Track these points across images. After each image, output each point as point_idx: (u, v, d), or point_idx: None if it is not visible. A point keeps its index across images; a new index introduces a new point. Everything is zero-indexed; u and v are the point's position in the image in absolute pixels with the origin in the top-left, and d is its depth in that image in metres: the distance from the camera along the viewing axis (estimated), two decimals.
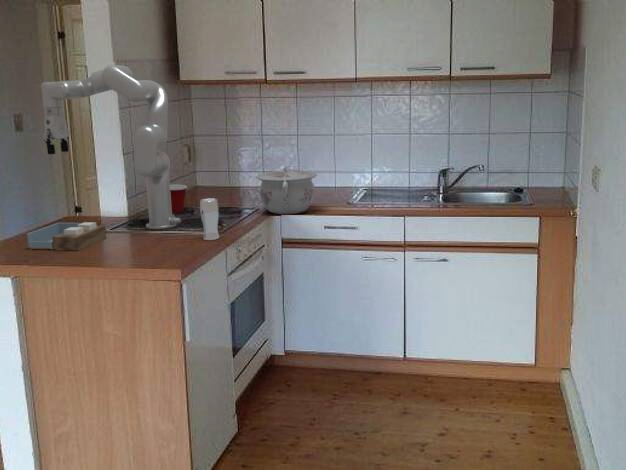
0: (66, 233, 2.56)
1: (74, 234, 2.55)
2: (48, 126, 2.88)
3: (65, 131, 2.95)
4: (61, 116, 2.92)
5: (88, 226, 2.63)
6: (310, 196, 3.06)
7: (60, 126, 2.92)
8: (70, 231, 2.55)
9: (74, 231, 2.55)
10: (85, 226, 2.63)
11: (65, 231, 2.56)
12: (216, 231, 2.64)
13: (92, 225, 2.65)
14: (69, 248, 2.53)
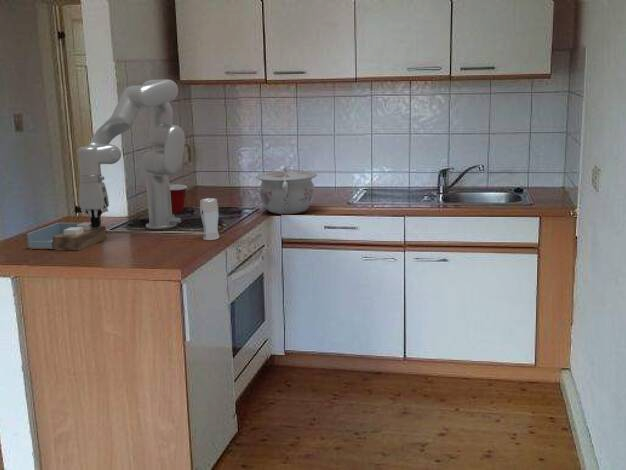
0: (66, 233, 2.56)
1: (74, 234, 2.55)
2: (104, 194, 2.61)
3: None
4: None
5: (88, 226, 2.63)
6: (310, 196, 3.06)
7: None
8: (70, 231, 2.55)
9: (74, 231, 2.55)
10: (85, 226, 2.63)
11: (65, 231, 2.56)
12: (216, 231, 2.64)
13: None
14: (69, 248, 2.53)
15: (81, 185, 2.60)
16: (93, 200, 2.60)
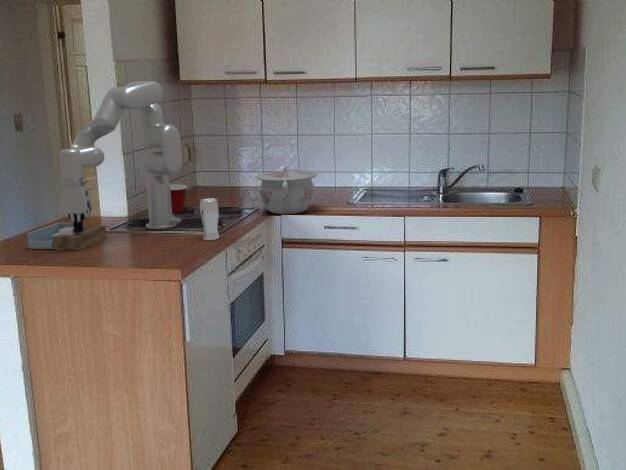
0: (62, 233, 2.56)
1: (70, 234, 2.55)
2: (87, 198, 2.53)
3: None
4: None
5: (52, 239, 2.68)
6: (310, 196, 3.06)
7: None
8: (66, 231, 2.55)
9: (70, 231, 2.55)
10: None
11: (61, 231, 2.56)
12: (216, 231, 2.64)
13: None
14: (69, 248, 2.53)
15: (63, 189, 2.52)
16: (76, 204, 2.52)
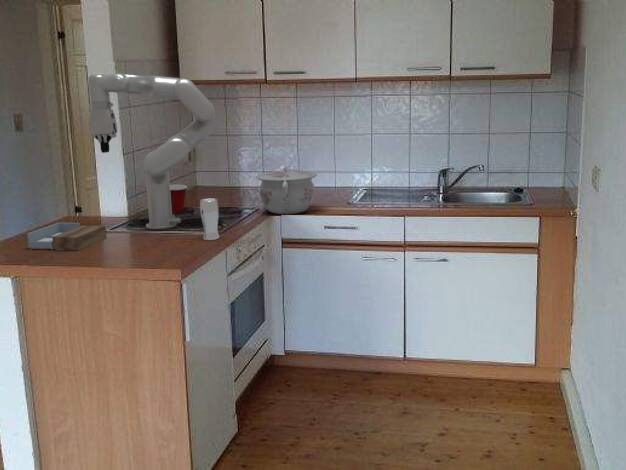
0: None
1: None
2: (113, 120, 2.77)
3: None
4: None
5: None
6: (310, 196, 3.06)
7: None
8: None
9: None
10: None
11: None
12: (216, 231, 2.64)
13: None
14: (69, 248, 2.53)
15: (91, 111, 2.76)
16: (103, 125, 2.76)
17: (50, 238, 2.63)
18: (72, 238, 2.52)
